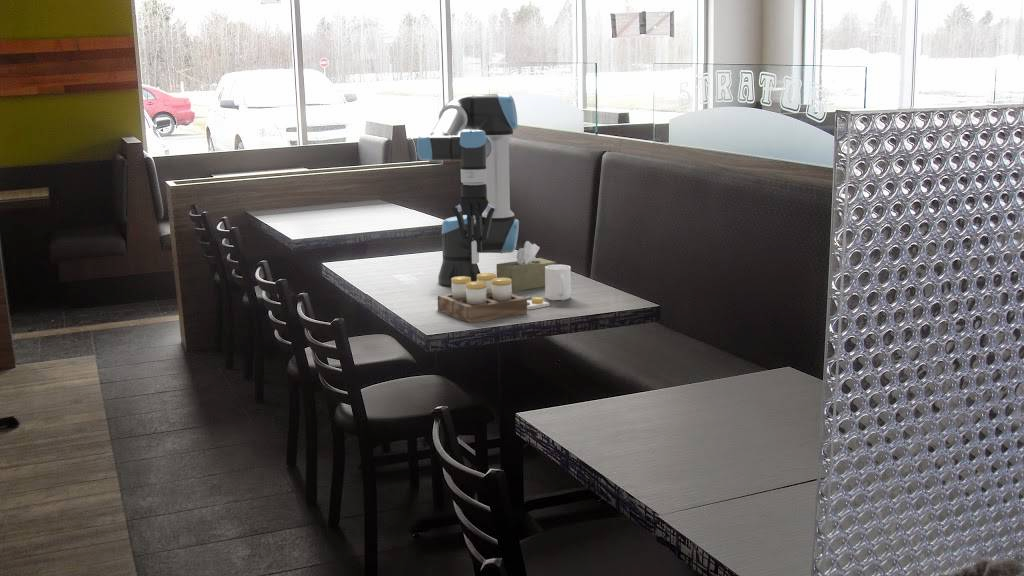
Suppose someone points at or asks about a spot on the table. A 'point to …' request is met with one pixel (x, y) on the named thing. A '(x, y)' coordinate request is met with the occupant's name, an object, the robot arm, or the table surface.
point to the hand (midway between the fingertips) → (475, 262)
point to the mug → (557, 282)
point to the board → (482, 308)
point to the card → (535, 302)
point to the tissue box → (525, 269)
